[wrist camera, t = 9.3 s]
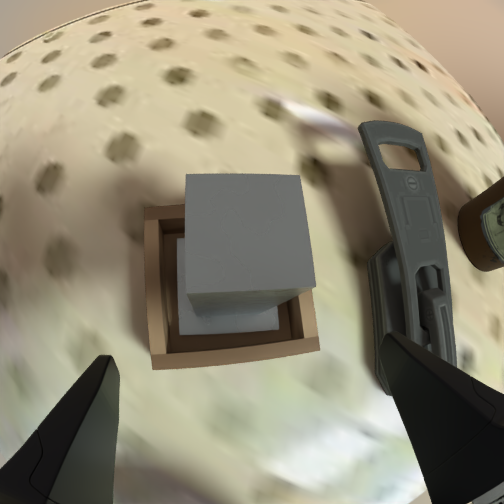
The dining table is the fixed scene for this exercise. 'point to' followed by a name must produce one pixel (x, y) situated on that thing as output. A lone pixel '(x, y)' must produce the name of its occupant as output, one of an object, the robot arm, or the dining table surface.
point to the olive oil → (484, 228)
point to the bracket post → (241, 252)
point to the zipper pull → (409, 251)
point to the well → (209, 345)
